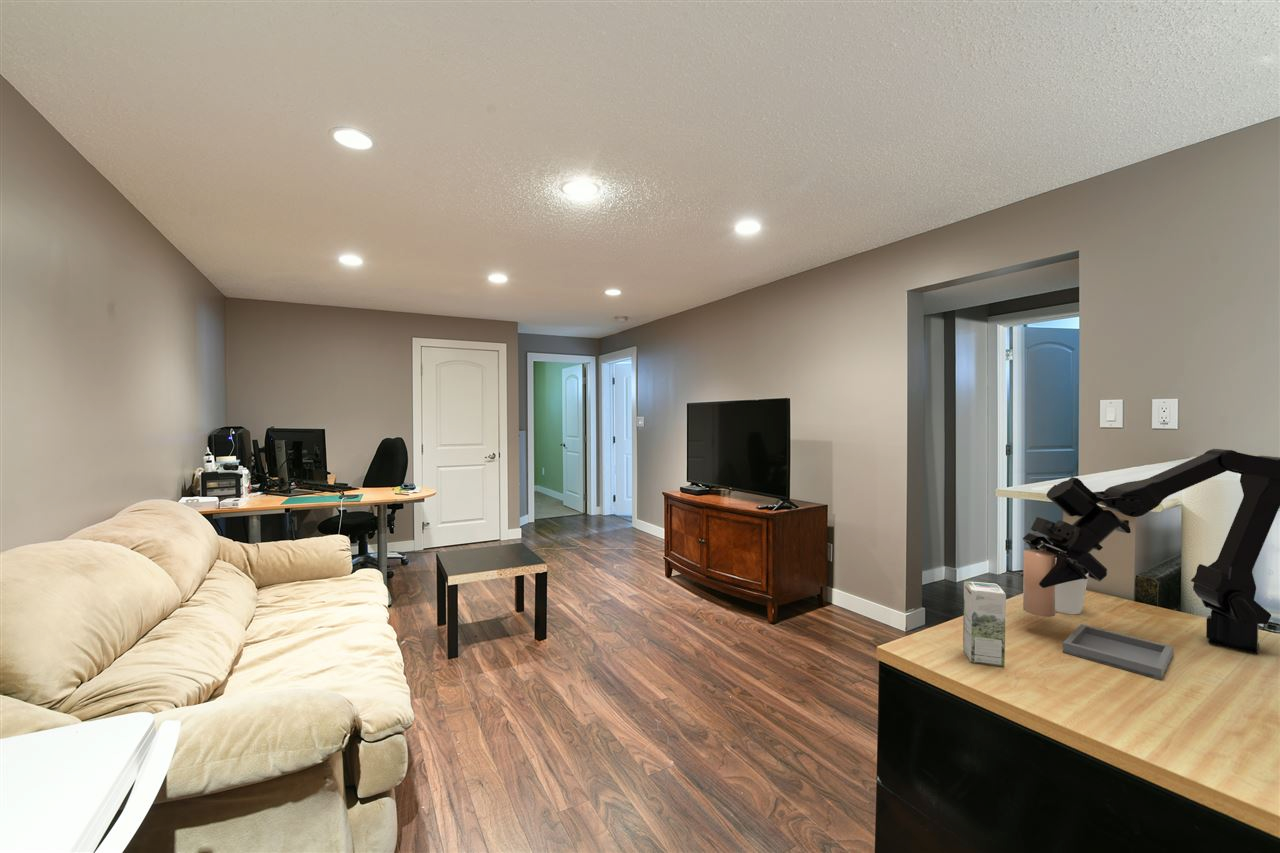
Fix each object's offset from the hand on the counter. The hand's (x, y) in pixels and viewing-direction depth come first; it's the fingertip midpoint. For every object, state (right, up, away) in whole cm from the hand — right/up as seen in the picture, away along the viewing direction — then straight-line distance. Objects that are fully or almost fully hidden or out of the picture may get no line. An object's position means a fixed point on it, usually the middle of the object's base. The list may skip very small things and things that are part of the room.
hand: (1032, 581), depth 113 cm
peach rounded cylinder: (+1, -7, 0) cm, 7 cm away
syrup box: (-18, -12, -12) cm, 25 cm away
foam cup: (+17, -11, +12) cm, 24 cm away
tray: (+9, -11, -11) cm, 18 cm away
